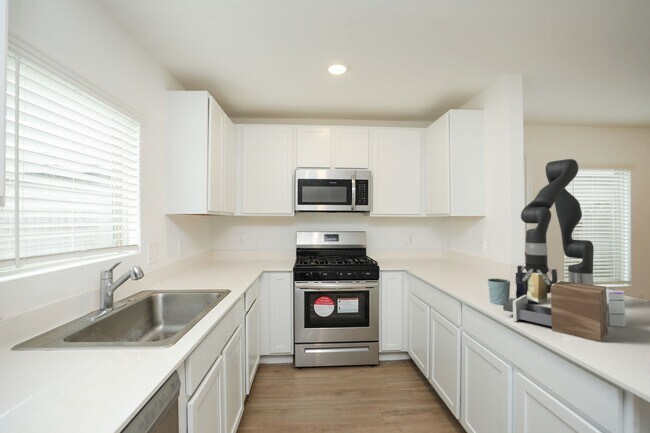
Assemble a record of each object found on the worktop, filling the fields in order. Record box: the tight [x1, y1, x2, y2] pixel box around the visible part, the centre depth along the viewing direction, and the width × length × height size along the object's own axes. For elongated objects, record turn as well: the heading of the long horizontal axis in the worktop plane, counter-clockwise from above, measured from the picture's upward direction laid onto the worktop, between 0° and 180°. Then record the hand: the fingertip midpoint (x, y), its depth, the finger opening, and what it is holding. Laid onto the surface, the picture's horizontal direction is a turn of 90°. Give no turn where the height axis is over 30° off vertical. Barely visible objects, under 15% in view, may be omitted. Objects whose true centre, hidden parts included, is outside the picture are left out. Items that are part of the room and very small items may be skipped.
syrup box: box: [606, 287, 627, 327], centre depth 118 cm, size 6×6×14 cm
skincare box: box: [526, 271, 548, 304], centre depth 122 cm, size 6×4×12 cm
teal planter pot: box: [487, 278, 511, 306], centre depth 150 cm, size 10×10×12 cm
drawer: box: [502, 295, 552, 327], centre depth 124 cm, size 15×19×8 cm
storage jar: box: [515, 271, 539, 305], centre depth 150 cm, size 10×10×15 cm
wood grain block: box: [550, 280, 608, 343], centre depth 112 cm, size 15×14×18 cm
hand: (536, 291), depth 122 cm, fingers closed on skincare box, 7 cm apart
